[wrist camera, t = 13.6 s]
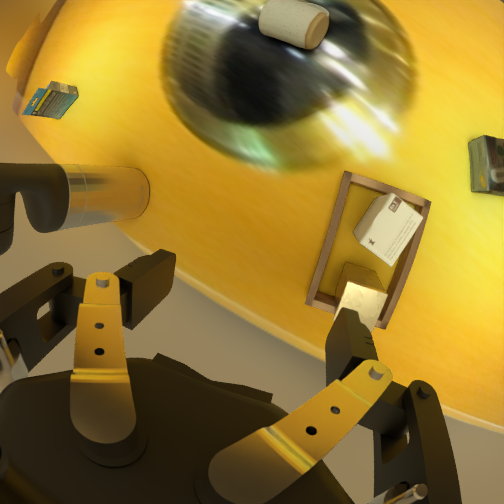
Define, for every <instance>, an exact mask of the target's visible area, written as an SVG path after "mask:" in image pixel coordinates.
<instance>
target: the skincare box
mask: <svg viewBox="0 0 504 504" xmlns="http://www.w3.org/2000/svg"><path fill="white" fill-rule="evenodd" d="M422 219H423V216H422V215H420V214H419V213H418V212H417V211H415V210H414V209H413V208H412V207H410V206H409V205H408V204H407V203H405V202H404V201H403V200H402V199H401V198H399V197H398V196H397V195H395V194H394V193H390V194H387V195H383V196H380V197H376V198H375V199H374V201H373V202H372V204H371V205H370V207H369V208H368V210H367V211H366V213H365V214H364V216H363V217H362V219H361V220H360V222H359V223H358V225H357V226H356V228H355V229H354V231H353V233H354V235H355V237H356V239H357V240H358V241H359V243H360V244H361V245H363V246H364V247H365V248H367V249H368V250H370V251H371V252H372V253H374V254H375V255H376V256H378V257H379V258H380V259H382V260H383V261H384V262H385V263H387V264H388V265H389V266H393V264H394V263H395V261H396V260H397V258H398V257H399V255H400V254H401V253H402V251H403V250H404V248H405V246H406V245H407V243H408V242H409V240H410V239H411V237H412V236H413V234H414V232H415V231H416V229H417V228H418V226H419V224H420V223H421V221H422Z"/></svg>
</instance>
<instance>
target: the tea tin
mask: <svg viewBox="0 0 504 504" xmlns="http://www.w3.org/2000/svg"><path fill="white" fill-rule="evenodd" d="M387 296H388V294H387V292H385V290H384V288H383V286H382V284H381V282H380V280H379V278H378V276H377V274H376V272H375V271H373V270H370V269H367V268H364V267H361V266H358V265H355V264H352V263H349V262H345V265H344V268H343V271H342V274H341V277H340V280H339V283H338V285H337V288H336V293H335V314H334V317H333V321H335V319H336V317H337V315H338V313H339V311H340V309H341V308H342V307H345V308H348V309H352V310H355V311H358V314H359V318H360V321H361V323H363V324H365V325H366V326H367V328H368V329H369V330H370V332H371V333H372V330H373V328H374V326H375V324H376V322H377V319H378V317H379V315H380V313H381V310H382V308H383V305H384V303H385V301H386V298H387Z"/></svg>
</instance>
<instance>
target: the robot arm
mask: <svg viewBox="0 0 504 504" xmlns="http://www.w3.org/2000/svg"><path fill="white" fill-rule="evenodd" d="M19 191H20V193H21V195H22V197H23V201H24V205H25V209H26V214H27V217H28V219H29V222H30V224H31V225H32V227H33V228H34V229H35V230H36V231H38V232H41V233H48V232H53V231H58V230H64V229H69V228H74V227H81V226H87V225H93V224H99V223H106V222H112V221H119V220H126V219H133V218H136V217H138V216H140V215H141V214H142V213H143V212H144V210H145V209H146V206H147V204H148V201H149V194H150V191H149V184H148V181H147V178H146V176H145V175H144V173H142V172H141V171H140V170H138V169H135V168H126V167H114V166H99V165H78V164H16V163H15V164H14V163H0V255H2V254H4V253H5V252H6V251H7V250H8V249H9V248H10V246H11V244H12V240H13V232H14V208H15V195H16V192H19ZM175 263H176V254H175V253H172V252H169V251H166V250H163V249H159V250H158V251H156V252H155V253H153V254H152V255H146V256H142V257H139V258H137V259H135V260H134V261H133V262H131V263H129V264H128V265H126V266H124V267H122V268H121V269H119V270H118V271H116V272H115V273H113V274H112V273H108V272H97V273H93V274H91V275H89V276H88V278H87V279H83V278H79V277H74V276H73V267H72V266H71V265H70V264H68V263H64V262H55V263H51V264H49V265H47V266H45V267H43V268H42V269H40V270H38V271H36V272H35V273H33V274H31V275H30V276H28V277H26V278H24V279H23V280H21V281H20V282H18V283H16V284H15V285H13V286H11V287H10V288H8V289H7V290H5V291H4V292H2V293H1V294H0V504H355V503H354V502H353V501H352V499H351V498H350V497H349V496H348V494H347V493H346V492H345V491H344V489H343V488H342V486H341V485H340V484H339V483H338V481H337V480H336V479H335V477H334V476H333V474H332V473H331V472H330V470H329V469H328V467H327V466H326V465H325V463H324V462H323V460H322V459H323V458H324V457H325V456H326V455H327V454H328V453H329V452H330V451H331V450H332V449H333V448H334V447H335V446H336V445H337V444H338V443H339V442H340V441H341V440H342V439H343V438H344V437H345V436H346V435H347V434H348V433H349V432H350V431H351V430H352V429H353V428H354V427H355V426H356V424H359V425H361V426H364V427H366V428H368V429H371V430H373V440H374V498H373V499H371V500H370V501H369V502H368V503H367V504H462V501H461V493H460V486H459V480H458V475H457V470H456V464H455V459H454V455H453V450H452V446H451V442H450V438H449V434H448V430H447V427H446V423H445V419H444V416H443V413H442V409H441V406H440V403H439V400H438V397H437V394H436V392H435V390H434V389H433V387H432V386H430V385H429V384H428V383H426V382H424V381H421V380H415V381H413V382H411V384H410V385H409V386H408V388H407V387H405V386H403V385H400V384H398V383H396V382H394V381H392V379H393V376H392V373H391V371H390V369H389V368H388V367H387V366H386V365H384V364H383V363H381V362H379V360H378V356H377V353H376V349H375V346H374V342H373V340H372V335H371V332H370V330H369V329H368V328H367V326H366V325H365V324H363V323H361V321H360V318H359V314H358V311H355V310H352V309H348V308H345V307H342V308H341V309H340V311H339V313H338V315H337V317H336V319H335V321H334V324H333V326H332V328H331V330H330V332H329V334H328V337H327V340H326V344H325V352H326V388H325V389H324V390H322V391H321V392H320V393H318V394H317V395H315V396H314V397H313V398H311V399H310V400H309V401H307V402H306V403H305V404H303V405H302V406H301V407H299V408H298V409H296V410H295V411H293V412H292V413H290V414H288V413H287V412H285V411H284V410H283V409H281V408H280V407H278V406H276V405H275V404H273V403H271V400H272V395H273V394H272V393H268V392H265V391H261V390H258V389H254V388H251V387H248V386H245V385H237V384H231V383H223V382H217V381H212V380H209V379H207V378H206V377H204V376H203V375H201V374H199V373H198V372H196V371H195V370H193V369H191V368H190V367H188V366H187V365H185V364H183V363H181V362H178V361H176V360H173V359H171V358H169V357H166V356H164V355H162V354H159V353H157V355H156V356H155V357H154V358H153V360H151V359H146V358H126V356H125V347H124V339H123V328H122V326H125V327H126V328H128V329H131V330H133V329H134V328H135V327H136V326H137V325H138V324H139V323H140V322H141V321H142V320H143V319H144V318H145V317H146V316H147V315H148V314H149V313H150V312H151V311H152V310H153V309H154V308H155V307H156V306H157V305H158V304H159V303H160V302H161V301H162V300H163V299H164V298H165V297H166V296H167V295H168V294H169V292H170V290H171V288H172V284H173V277H174V270H175ZM47 302H49V308H50V311H49V312H47V313H46V314H45V315H43V316H42V317H41V318H40V319H38V320H37V312H38V310H39V308H40V307H41V306H43V305H44V304H45V303H47ZM75 327H76V338H75V350H74V368H73V370H69V371H63V372H58V373H52V374H46V375H40V376H34V377H28V373H29V372H30V371H31V370H32V369H33V368H34V367H35V366H36V365H37V364H38V363H39V362H40V361H41V360H42V358H44V357H45V356H46V355H47V354H48V353H49V352H50V351H51V350H52V349H53V348H54V347H55V346H56V345H57V344H58V343H60V342H61V341H62V340H63V339H64V338H65V337H66V336H67V335H68V334H69V333H70V332H71V331H72V330H73V329H74V328H75ZM407 432H409V436H410V439H409V443H408V444H407V435H406V433H407Z"/></svg>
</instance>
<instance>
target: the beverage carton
mask: <svg viewBox="0 0 504 504" xmlns="http://www.w3.org/2000/svg"><path fill="white" fill-rule="evenodd" d="M468 149H469V156H470V169H471V190H472V192H477V193H486V194H493V195H499V196H504V139H497V138H495V137H491V136H487V135H483V136H481V137H478V138H476V139H474V140H472V141H471V142H469V143H468Z"/></svg>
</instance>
